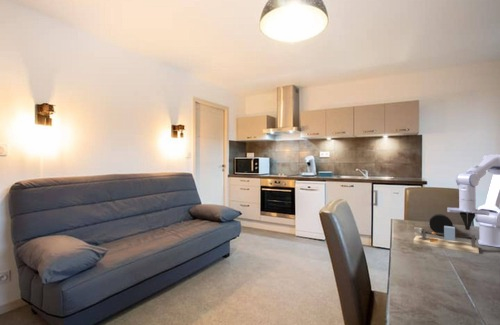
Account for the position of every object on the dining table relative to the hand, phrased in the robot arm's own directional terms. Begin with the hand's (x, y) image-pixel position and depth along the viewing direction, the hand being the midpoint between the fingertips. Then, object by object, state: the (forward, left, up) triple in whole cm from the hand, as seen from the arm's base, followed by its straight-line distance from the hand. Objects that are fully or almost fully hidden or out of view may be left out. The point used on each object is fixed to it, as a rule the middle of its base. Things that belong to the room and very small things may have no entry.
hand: (467, 229), depth 117 cm
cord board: (+8, 0, -9) cm, 12 cm away
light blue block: (+6, 0, -6) cm, 9 cm away
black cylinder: (+11, -34, -9) cm, 37 cm away
